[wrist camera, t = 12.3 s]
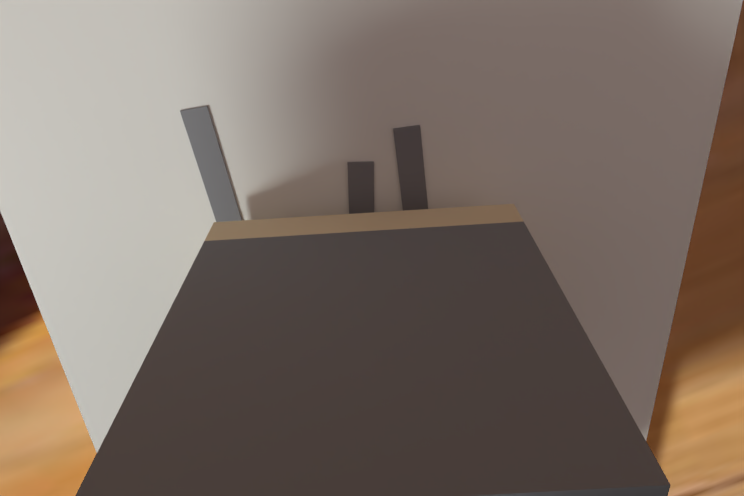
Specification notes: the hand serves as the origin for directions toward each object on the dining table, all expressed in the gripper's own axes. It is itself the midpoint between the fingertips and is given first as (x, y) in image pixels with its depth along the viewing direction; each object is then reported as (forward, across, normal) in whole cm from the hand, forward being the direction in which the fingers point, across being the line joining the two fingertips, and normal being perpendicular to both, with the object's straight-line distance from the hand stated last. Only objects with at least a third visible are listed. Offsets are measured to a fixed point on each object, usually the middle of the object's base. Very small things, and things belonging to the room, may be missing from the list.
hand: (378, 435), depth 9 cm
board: (+3, 0, +3) cm, 4 cm away
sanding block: (+1, 0, 0) cm, 1 cm away
